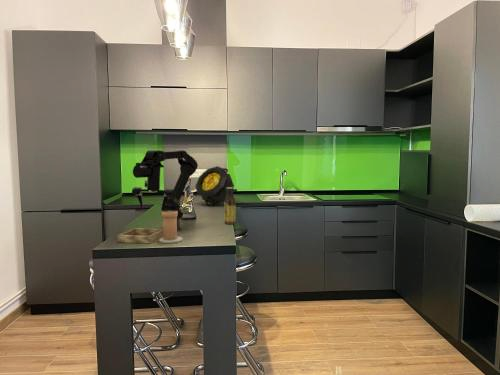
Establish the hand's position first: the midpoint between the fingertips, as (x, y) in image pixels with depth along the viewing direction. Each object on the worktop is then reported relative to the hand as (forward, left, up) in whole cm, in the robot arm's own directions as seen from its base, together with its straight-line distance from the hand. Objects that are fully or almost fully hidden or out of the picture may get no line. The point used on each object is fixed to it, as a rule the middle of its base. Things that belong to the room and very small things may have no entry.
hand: (152, 209), depth 170 cm
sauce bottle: (-31, -31, -12) cm, 45 cm away
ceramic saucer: (-13, +11, -12) cm, 21 cm away
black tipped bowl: (-6, -102, -12) cm, 103 cm away
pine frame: (+1, +10, -12) cm, 16 cm away
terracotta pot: (-13, +11, -11) cm, 20 cm away
